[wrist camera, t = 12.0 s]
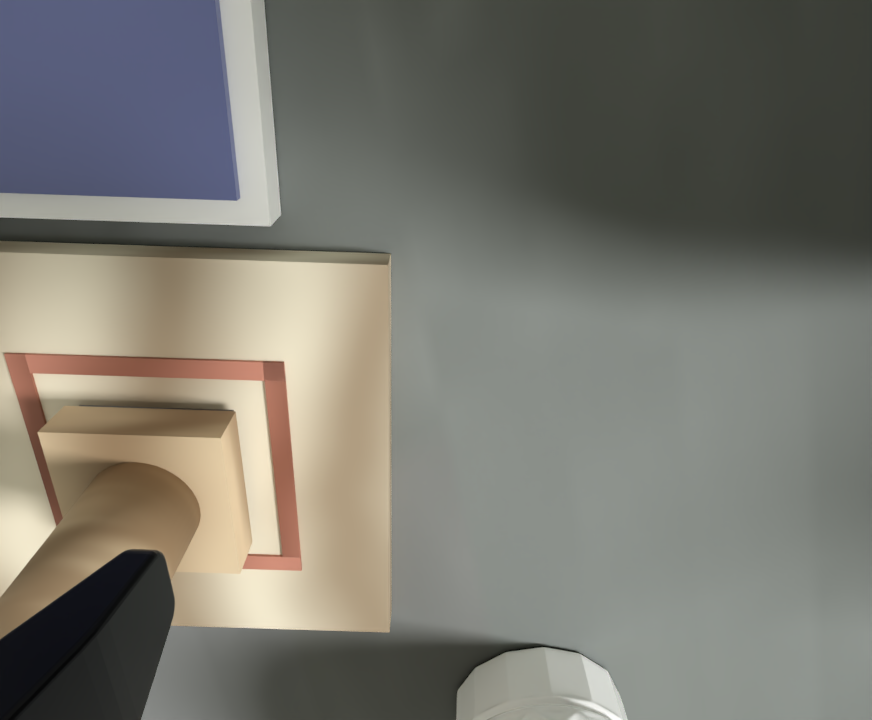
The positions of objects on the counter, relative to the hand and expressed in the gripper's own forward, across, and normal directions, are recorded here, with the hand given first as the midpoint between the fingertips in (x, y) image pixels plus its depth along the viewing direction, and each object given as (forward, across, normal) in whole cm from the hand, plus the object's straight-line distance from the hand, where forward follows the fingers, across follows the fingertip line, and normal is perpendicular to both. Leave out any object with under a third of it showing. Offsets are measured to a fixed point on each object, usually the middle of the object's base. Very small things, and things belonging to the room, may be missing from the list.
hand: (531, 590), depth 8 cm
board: (+11, +10, +6) cm, 16 cm away
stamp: (+10, +10, +6) cm, 16 cm away
